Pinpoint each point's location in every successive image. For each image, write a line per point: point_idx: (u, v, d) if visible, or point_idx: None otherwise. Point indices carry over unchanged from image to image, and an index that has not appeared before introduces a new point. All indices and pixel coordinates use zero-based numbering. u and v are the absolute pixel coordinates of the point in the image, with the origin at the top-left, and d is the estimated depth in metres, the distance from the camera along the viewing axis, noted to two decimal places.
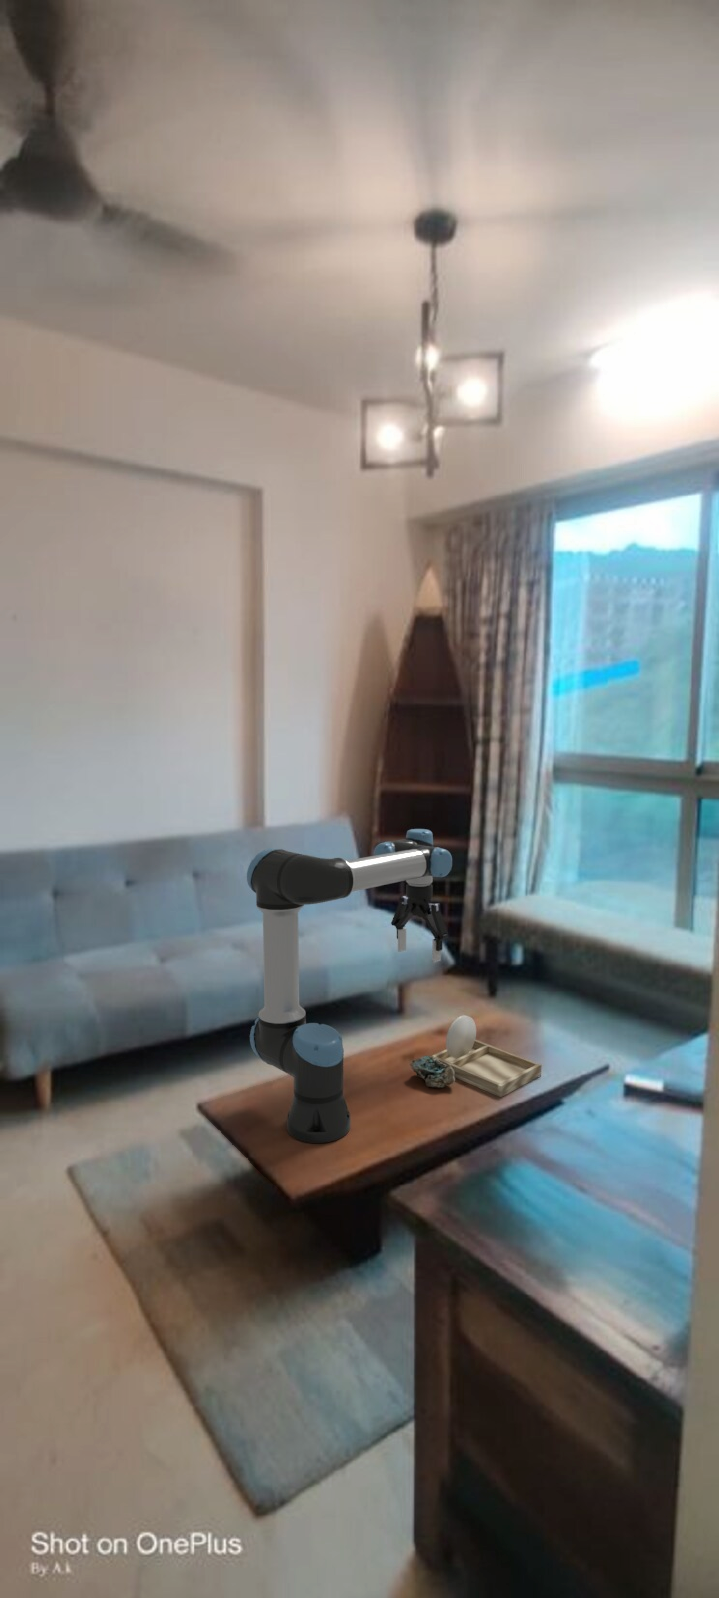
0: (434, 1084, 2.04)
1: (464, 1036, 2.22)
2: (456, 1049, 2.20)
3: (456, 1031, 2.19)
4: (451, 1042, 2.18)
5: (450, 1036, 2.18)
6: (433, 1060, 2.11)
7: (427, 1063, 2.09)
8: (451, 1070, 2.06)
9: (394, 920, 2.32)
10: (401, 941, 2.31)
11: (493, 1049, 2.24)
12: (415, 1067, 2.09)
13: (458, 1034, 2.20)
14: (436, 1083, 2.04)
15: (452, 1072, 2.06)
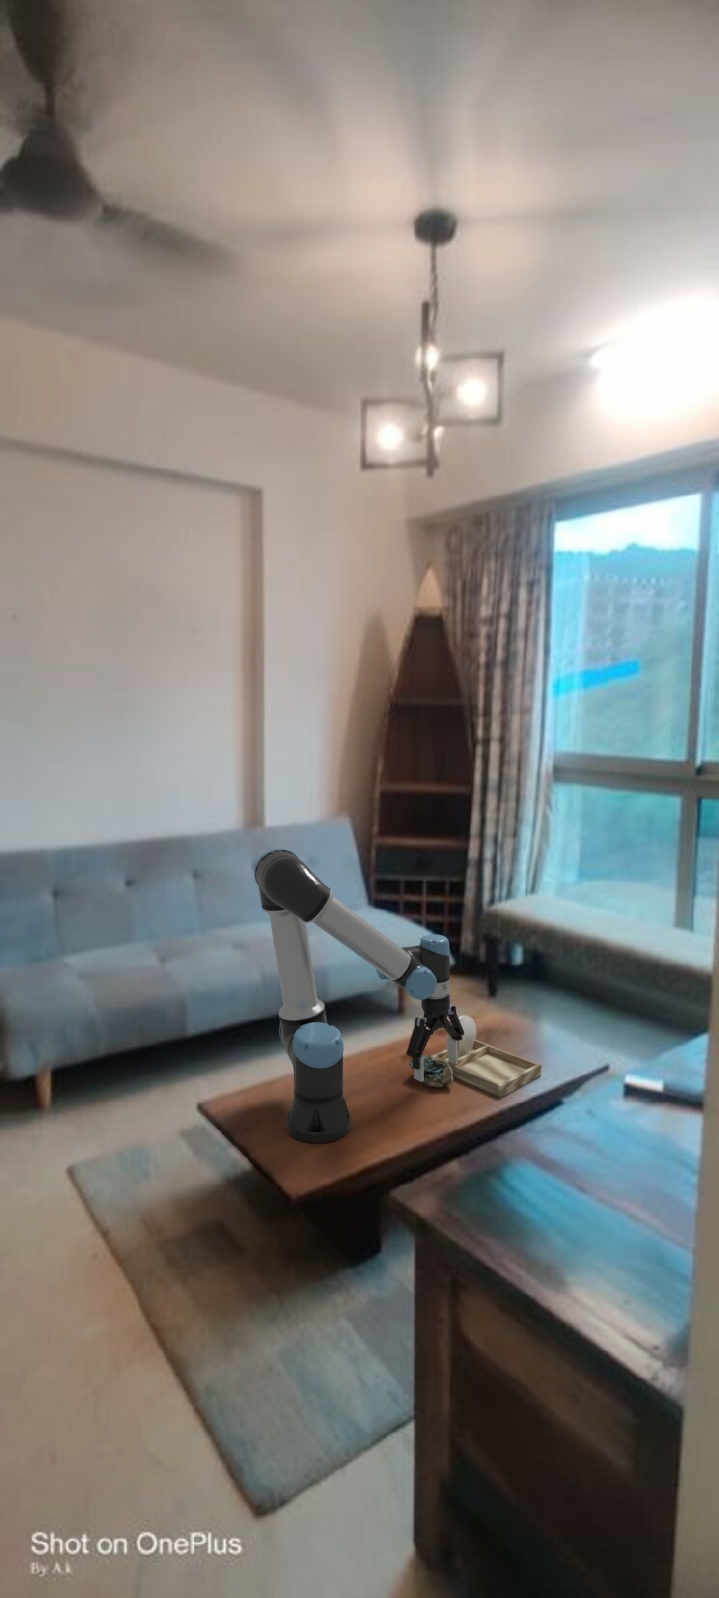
0: (432, 1084, 2.04)
1: (464, 1036, 2.22)
2: None
3: None
4: None
5: (450, 1036, 2.18)
6: (432, 1060, 2.12)
7: (425, 1063, 2.09)
8: (449, 1070, 2.06)
9: None
10: (450, 1052, 2.14)
11: (493, 1049, 2.24)
12: None
13: None
14: (434, 1083, 2.05)
15: (450, 1072, 2.06)
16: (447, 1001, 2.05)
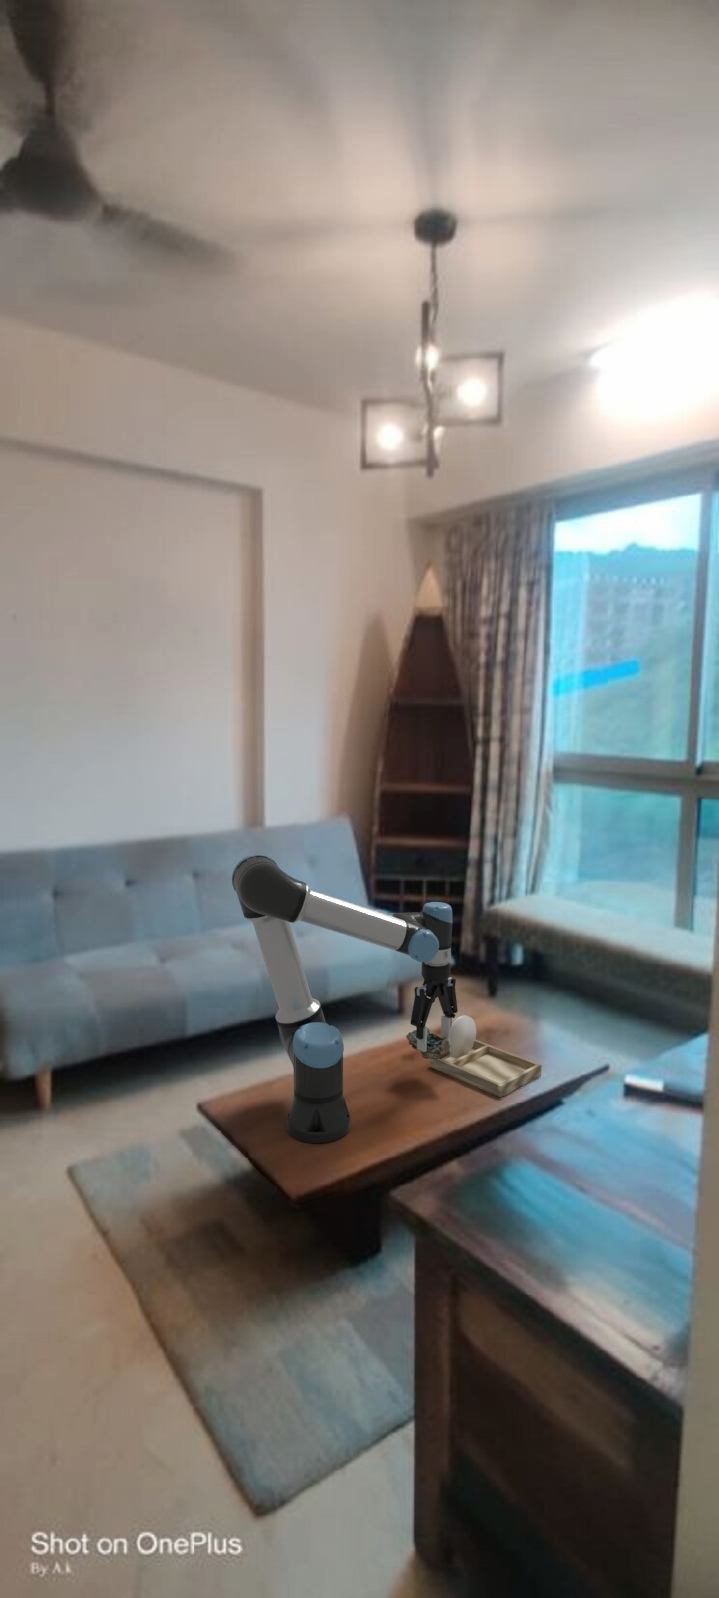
0: (430, 1055, 2.04)
1: (464, 1036, 2.22)
2: (456, 1049, 2.20)
3: (456, 1031, 2.19)
4: (451, 1042, 2.18)
5: (450, 1036, 2.18)
6: (429, 1033, 2.11)
7: None
8: (448, 1042, 2.06)
9: None
10: (443, 1030, 2.12)
11: (493, 1049, 2.24)
12: (411, 1038, 2.09)
13: (458, 1034, 2.20)
14: (432, 1054, 2.04)
15: (449, 1044, 2.06)
16: (448, 969, 2.04)
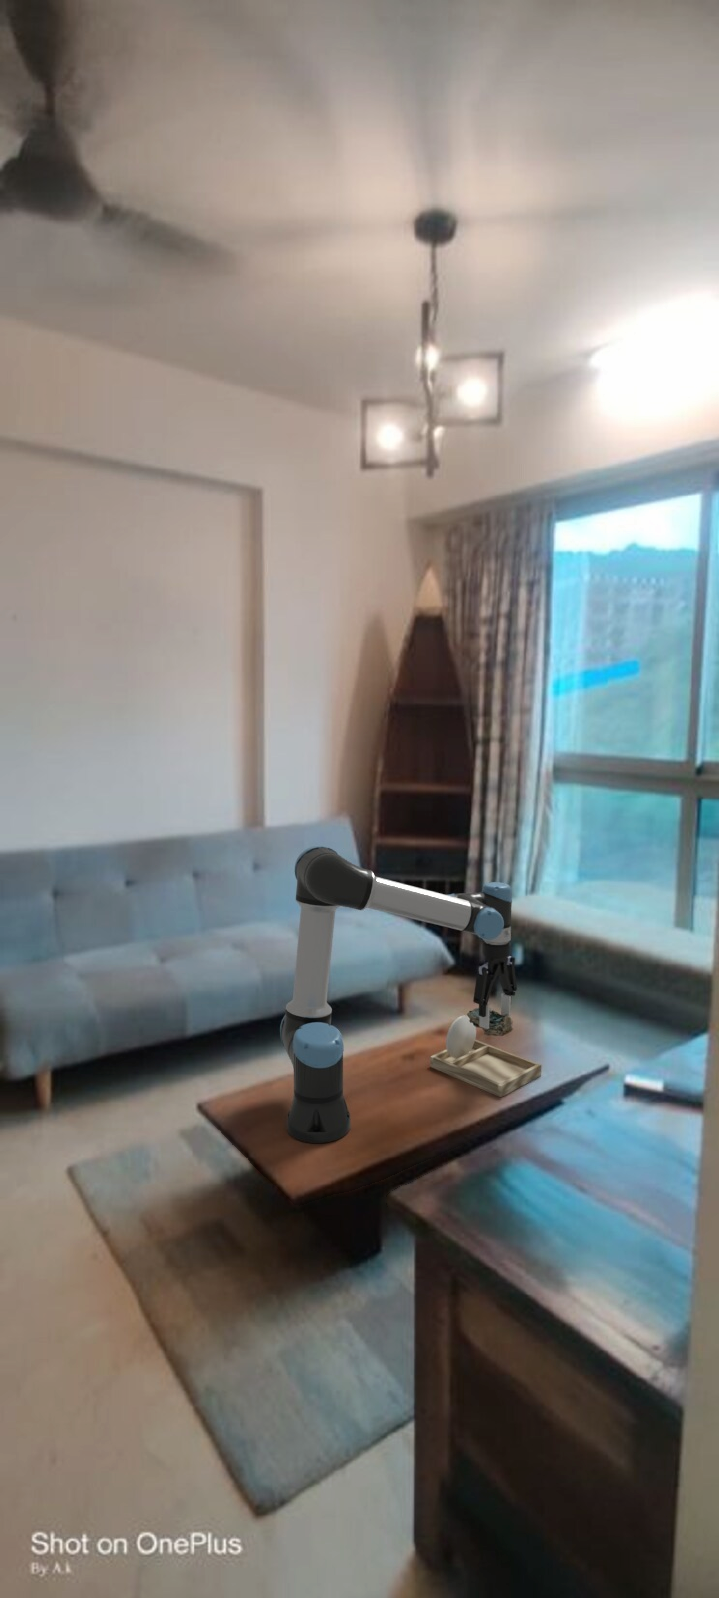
0: (493, 1032, 2.08)
1: (464, 1036, 2.22)
2: (456, 1049, 2.20)
3: (456, 1031, 2.19)
4: (451, 1042, 2.18)
5: (450, 1036, 2.18)
6: (490, 1010, 2.15)
7: None
8: (509, 1019, 2.10)
9: None
10: (503, 1007, 2.16)
11: (493, 1049, 2.24)
12: (473, 1016, 2.13)
13: (458, 1034, 2.20)
14: (495, 1031, 2.08)
15: (510, 1021, 2.10)
16: (508, 947, 2.08)
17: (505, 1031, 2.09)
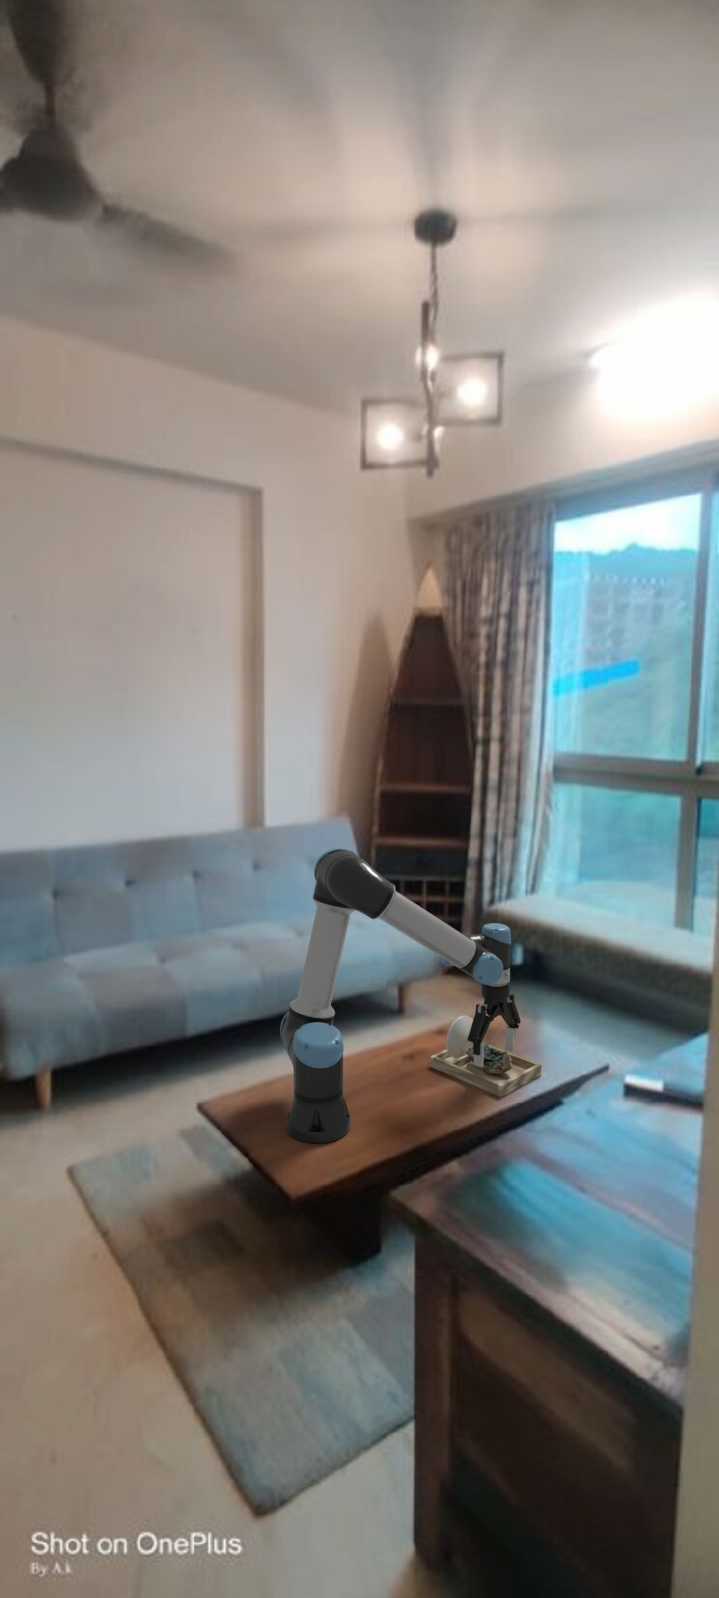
0: (492, 1071, 2.09)
1: (464, 1036, 2.22)
2: (456, 1049, 2.20)
3: (456, 1031, 2.19)
4: (451, 1042, 2.18)
5: (450, 1036, 2.18)
6: (489, 1048, 2.17)
7: (484, 1050, 2.14)
8: (508, 1057, 2.11)
9: None
10: (507, 1040, 2.18)
11: None
12: (472, 1054, 2.14)
13: (458, 1034, 2.20)
14: (494, 1070, 2.09)
15: (509, 1059, 2.11)
16: (507, 989, 2.09)
17: (504, 1069, 2.10)
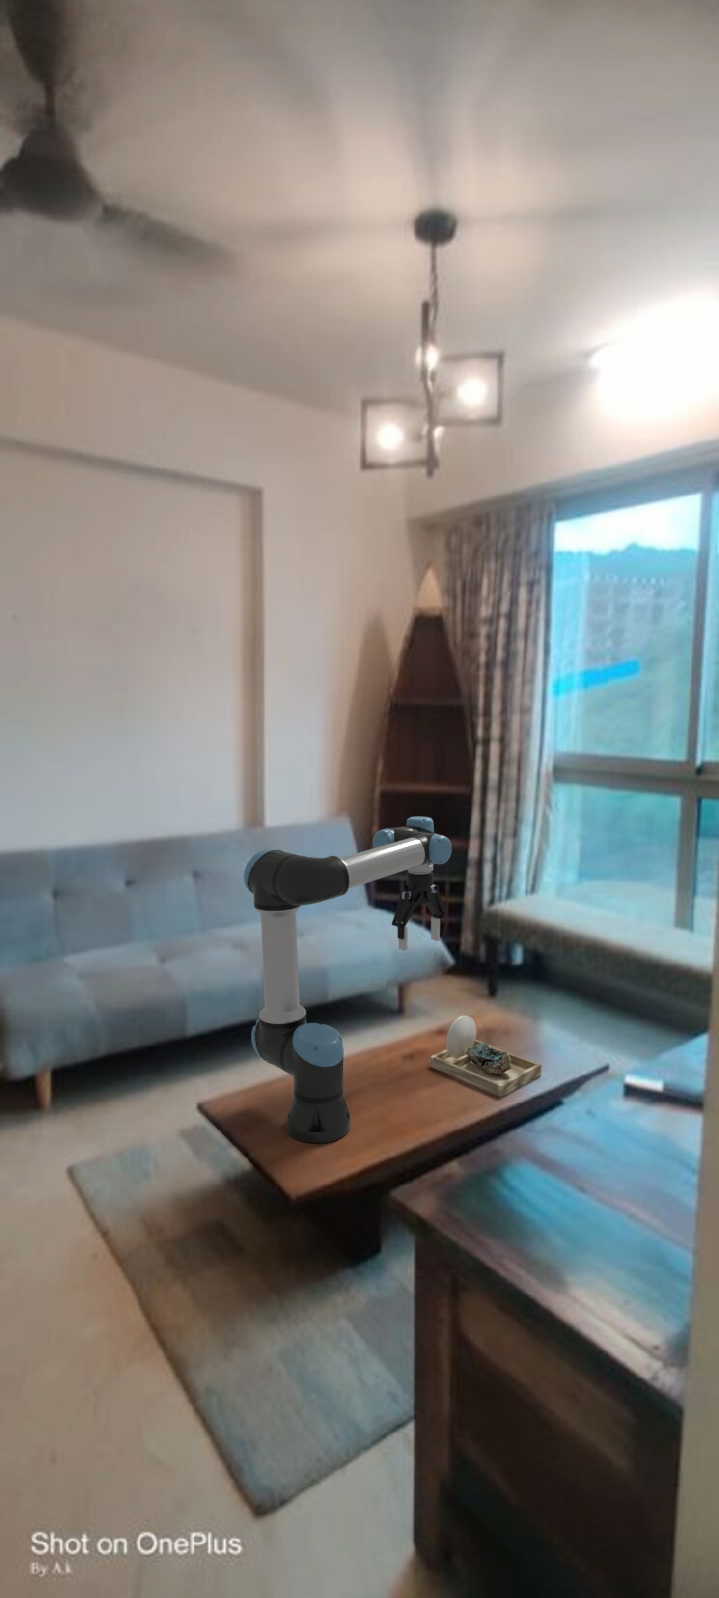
0: (492, 1070, 2.09)
1: (464, 1036, 2.22)
2: (456, 1049, 2.20)
3: (456, 1031, 2.19)
4: (451, 1042, 2.18)
5: (450, 1036, 2.18)
6: (488, 1048, 2.17)
7: (483, 1050, 2.14)
8: (508, 1057, 2.11)
9: None
10: (433, 930, 2.30)
11: None
12: (472, 1054, 2.14)
13: (458, 1034, 2.20)
14: (494, 1069, 2.10)
15: (509, 1059, 2.11)
16: (430, 877, 2.21)
17: (503, 1069, 2.10)
